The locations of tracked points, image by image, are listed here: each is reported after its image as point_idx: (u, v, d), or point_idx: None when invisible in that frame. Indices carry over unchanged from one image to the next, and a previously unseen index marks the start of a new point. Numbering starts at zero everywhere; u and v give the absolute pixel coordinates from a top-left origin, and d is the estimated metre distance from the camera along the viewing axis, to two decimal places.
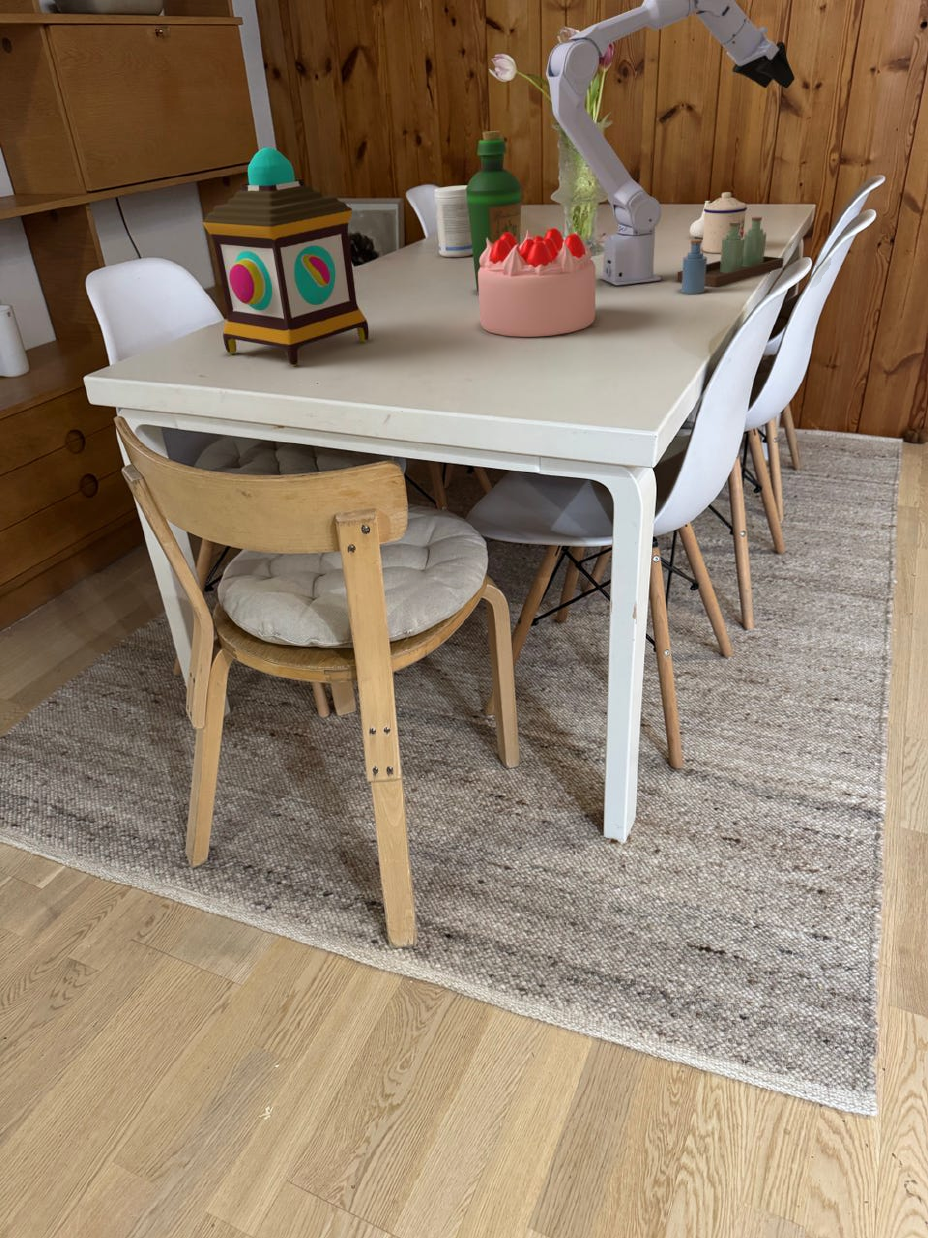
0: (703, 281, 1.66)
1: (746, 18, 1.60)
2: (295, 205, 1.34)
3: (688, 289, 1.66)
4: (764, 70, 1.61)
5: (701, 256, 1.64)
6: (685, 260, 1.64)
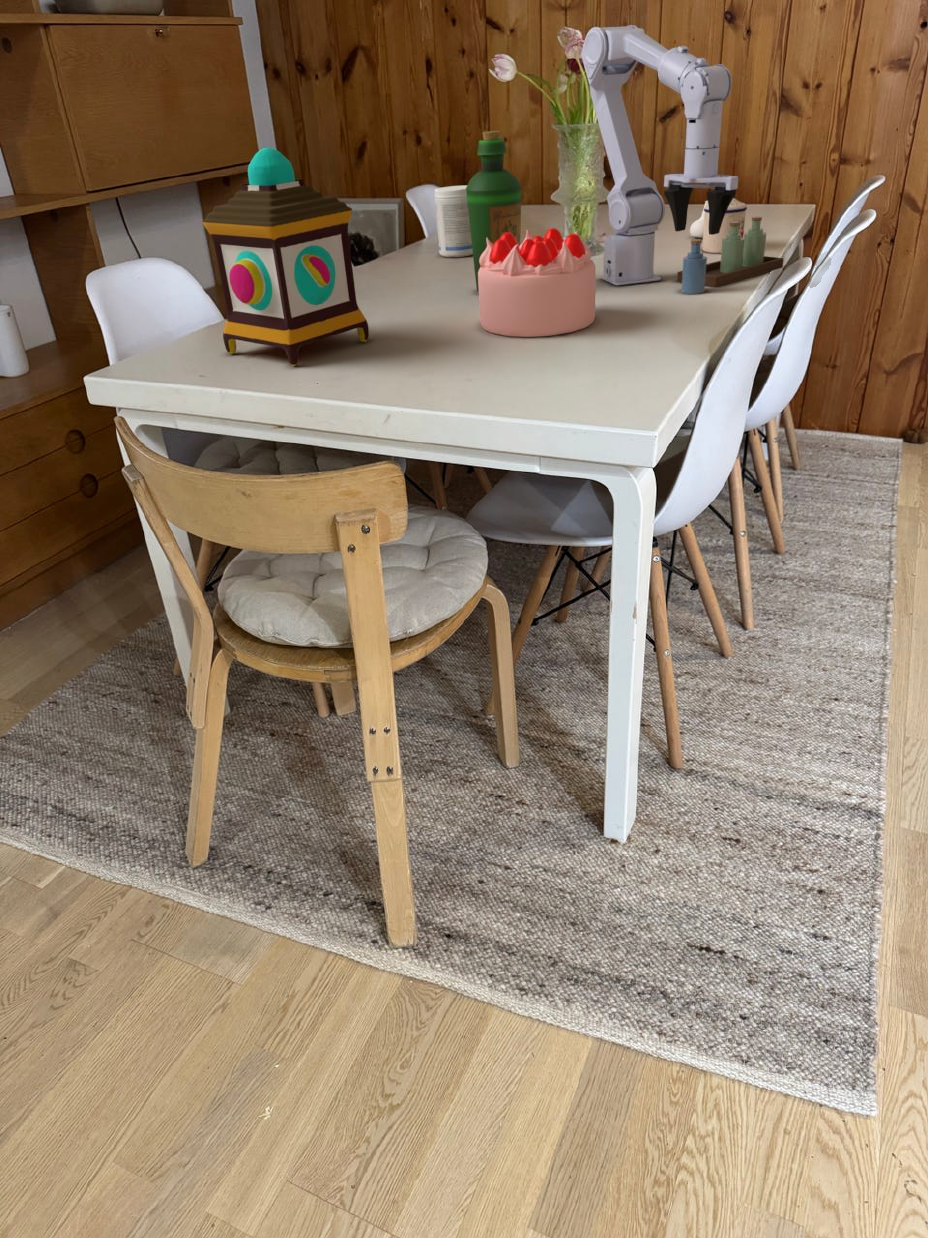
0: (703, 281, 1.66)
1: (685, 148, 1.56)
2: (295, 205, 1.34)
3: (688, 289, 1.66)
4: None
5: (701, 256, 1.64)
6: (685, 260, 1.64)
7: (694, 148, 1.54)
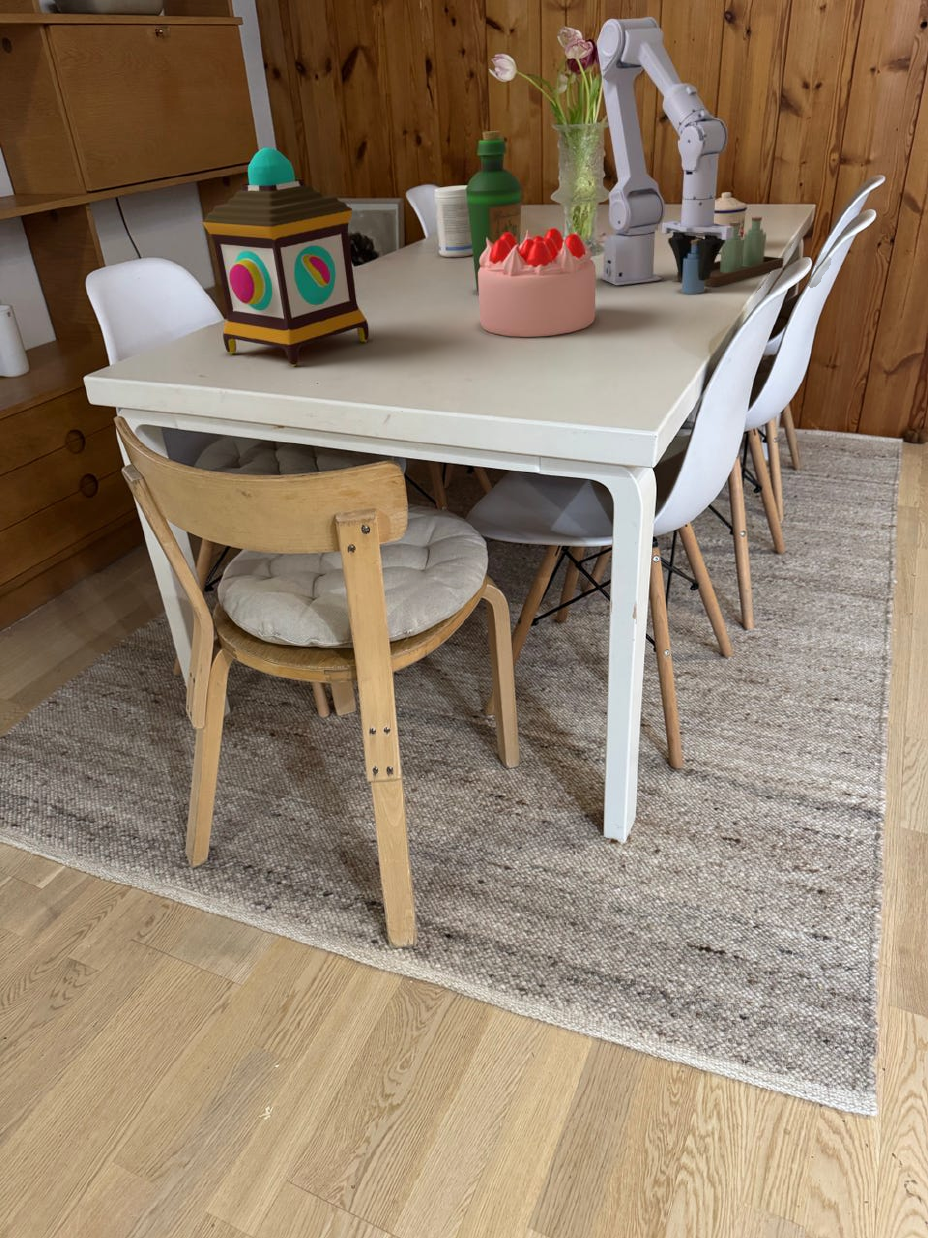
0: (703, 281, 1.66)
1: (682, 198, 1.60)
2: (295, 205, 1.34)
3: (688, 289, 1.66)
4: None
5: None
6: (685, 260, 1.64)
7: (691, 199, 1.58)
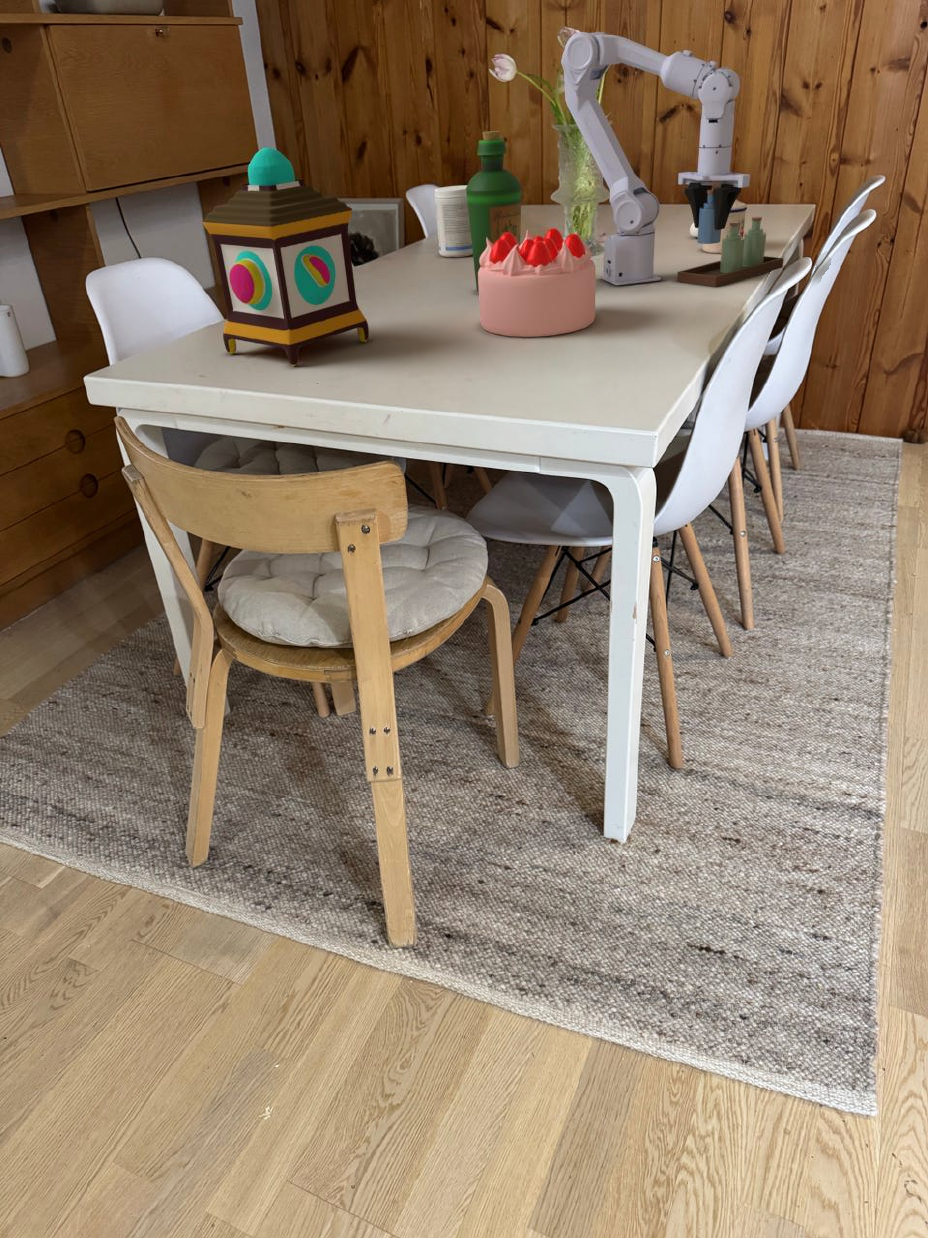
0: (719, 231, 1.68)
1: (699, 147, 1.62)
2: (295, 205, 1.34)
3: (704, 239, 1.68)
4: None
5: None
6: (701, 210, 1.67)
7: (708, 147, 1.60)
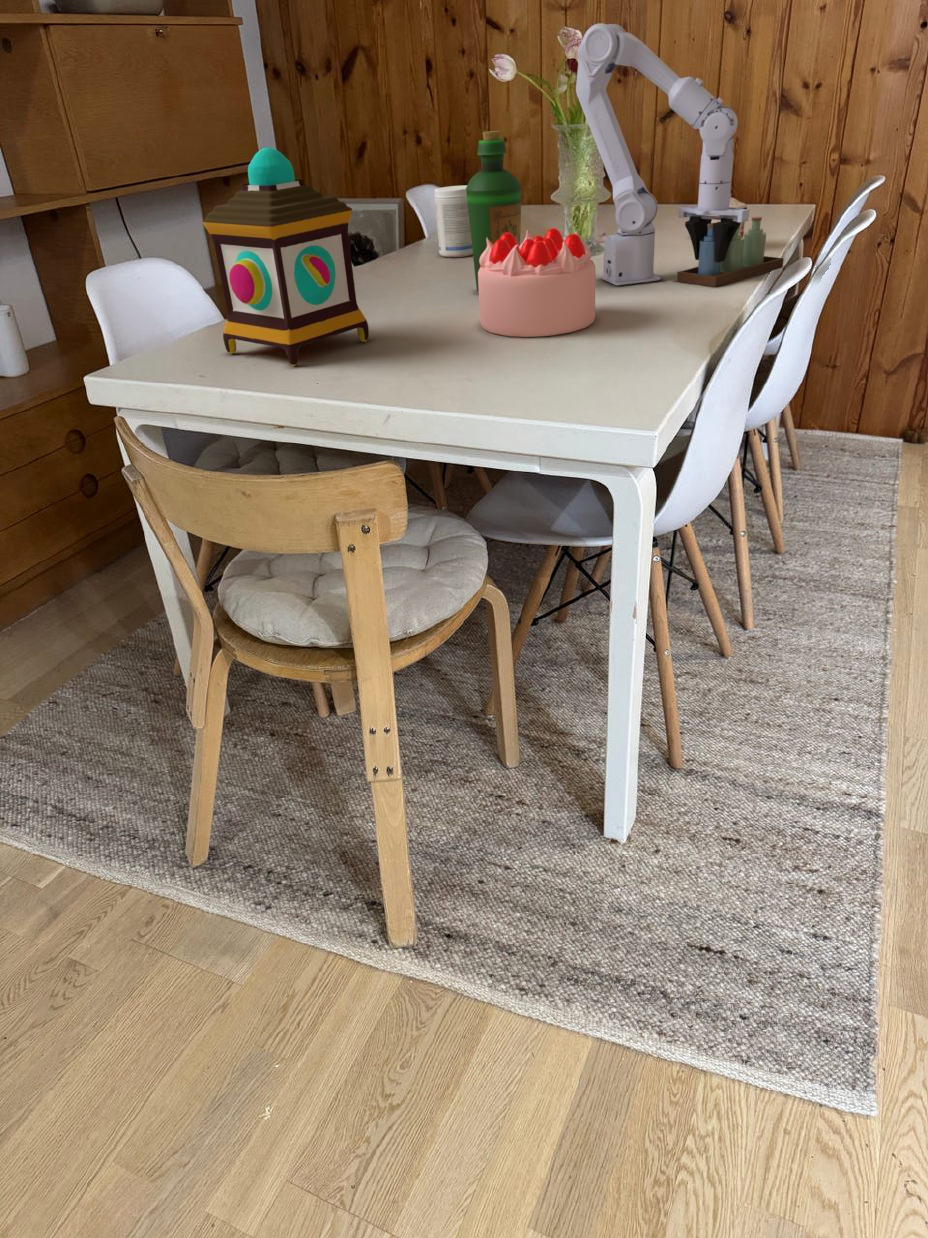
0: (719, 263, 1.72)
1: (699, 183, 1.66)
2: (295, 205, 1.34)
3: (704, 271, 1.73)
4: None
5: None
6: (702, 243, 1.71)
7: (708, 183, 1.64)
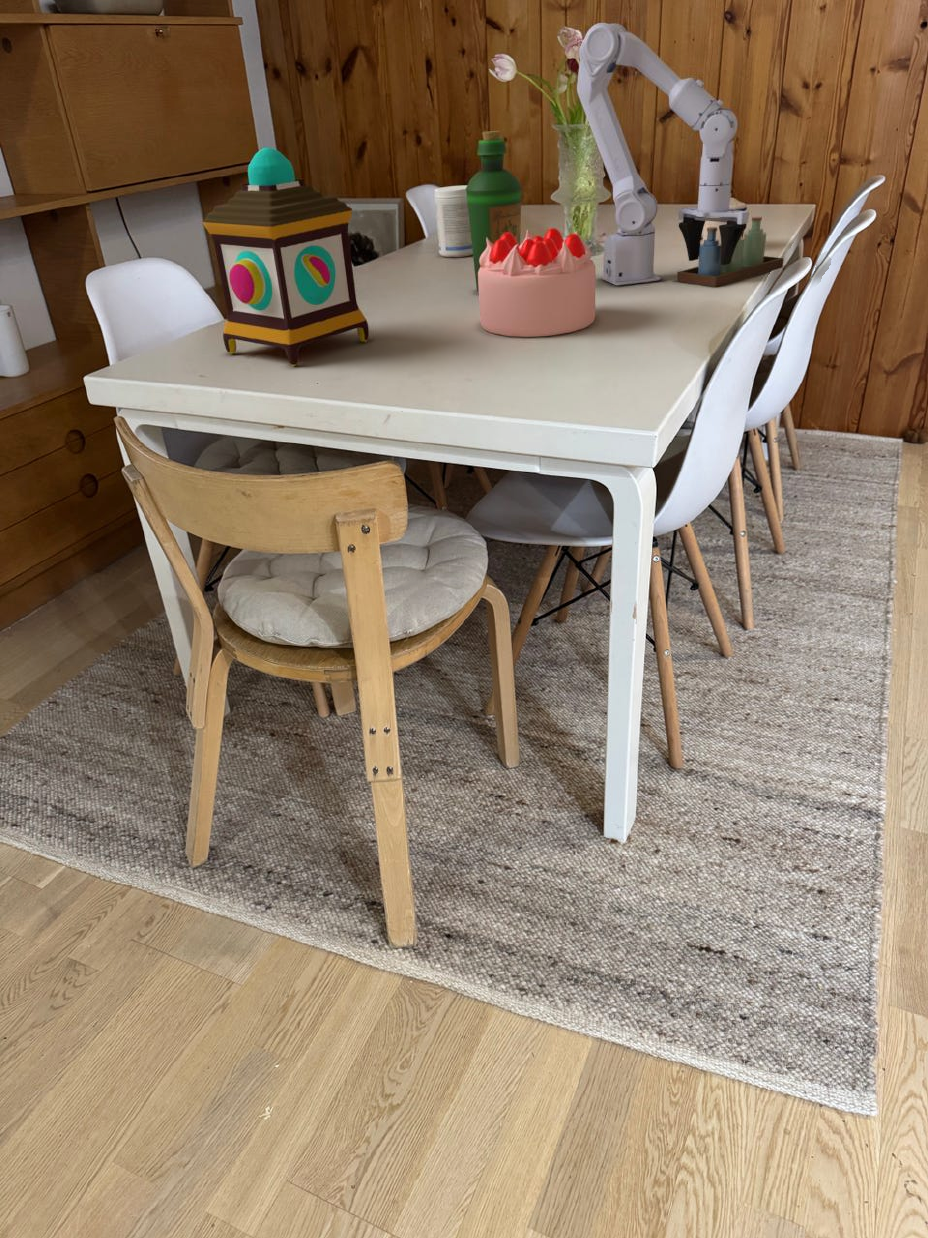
0: (718, 267, 1.72)
1: (699, 184, 1.67)
2: (295, 205, 1.34)
3: None
4: None
5: (717, 243, 1.71)
6: (701, 247, 1.71)
7: (707, 185, 1.64)
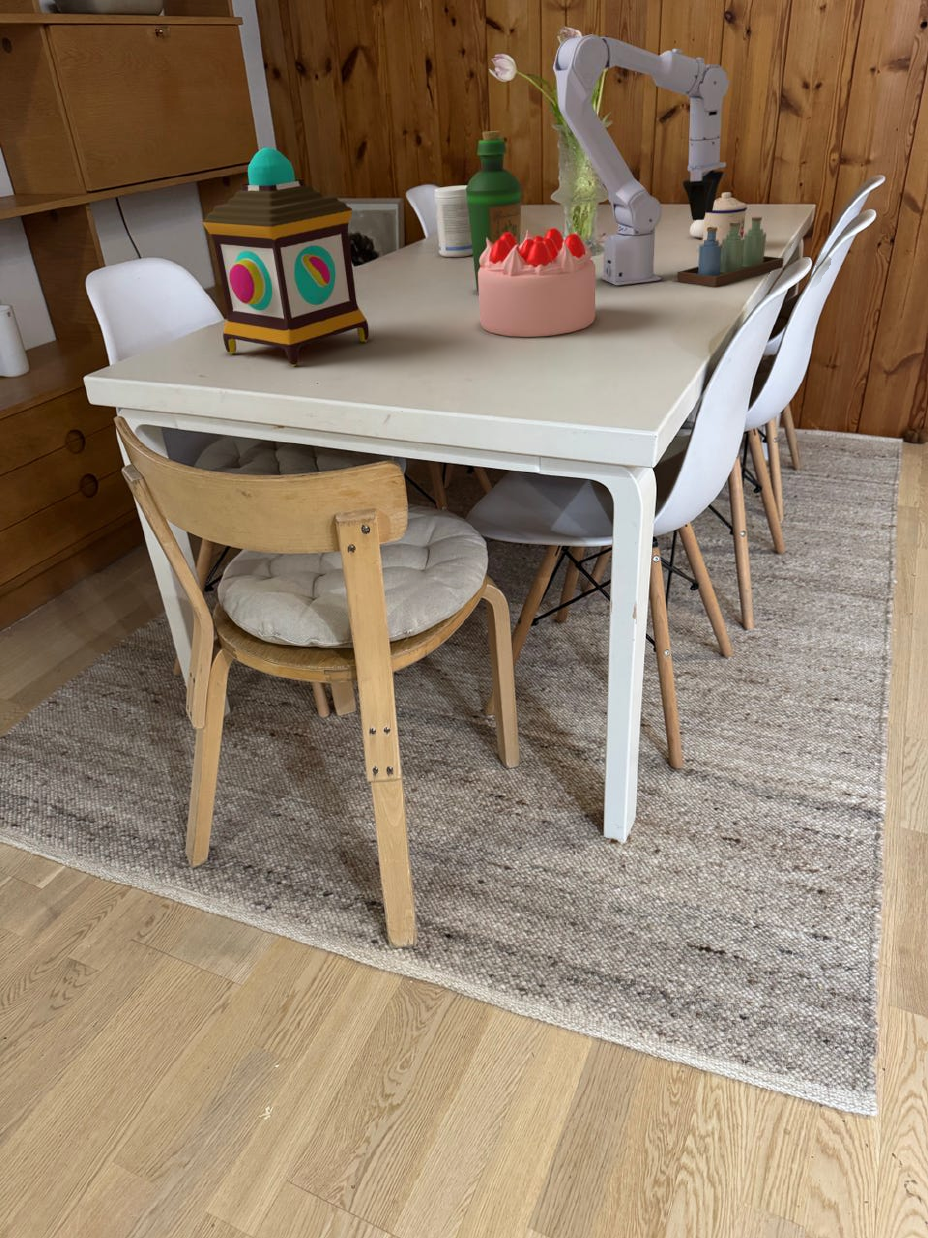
0: (718, 267, 1.72)
1: (713, 138, 1.68)
2: (295, 205, 1.34)
3: None
4: (683, 185, 1.71)
5: (717, 243, 1.71)
6: (701, 247, 1.71)
7: (720, 136, 1.70)
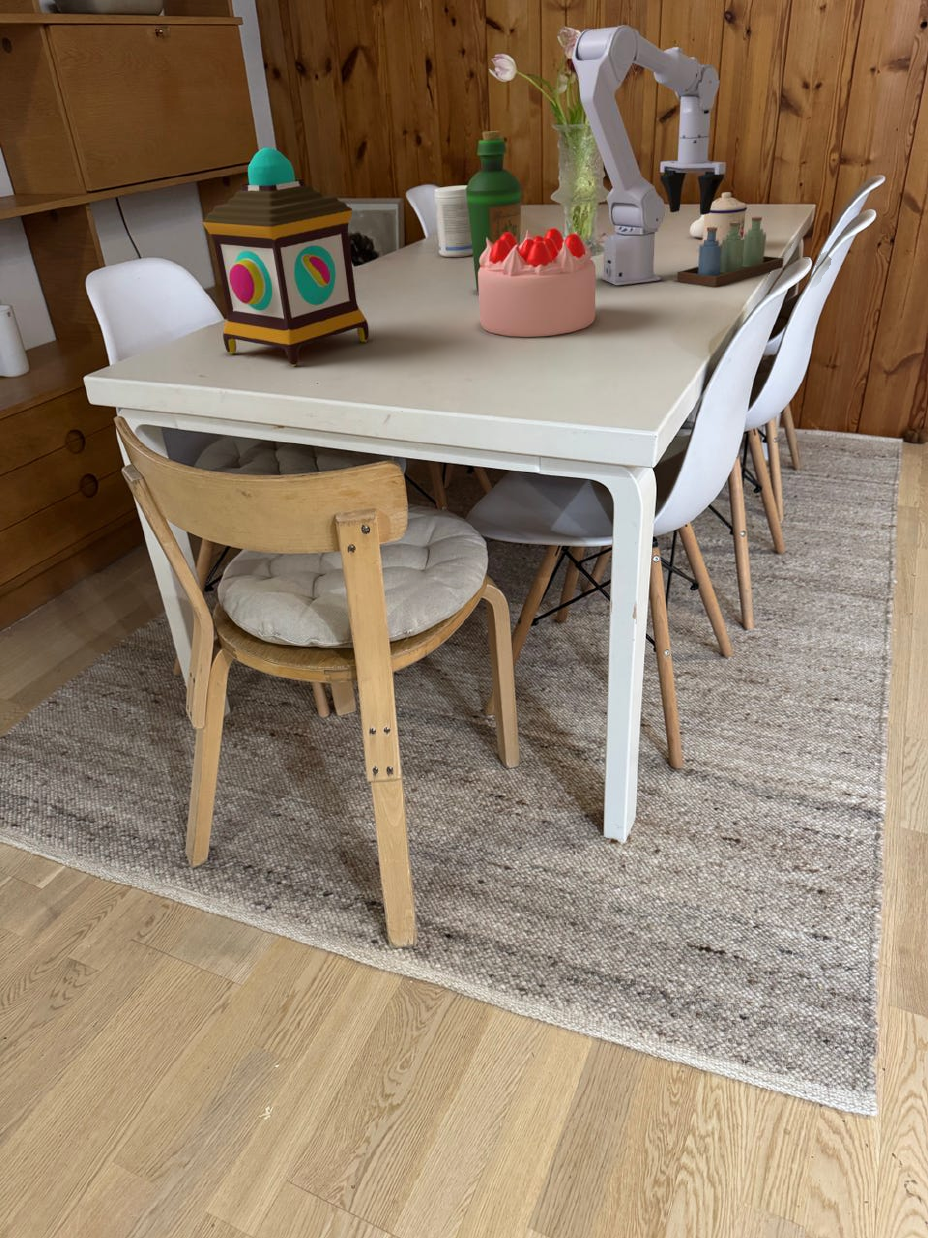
0: (718, 267, 1.72)
1: (708, 135, 1.75)
2: (295, 205, 1.34)
3: None
4: (707, 179, 1.74)
5: (717, 243, 1.71)
6: (701, 247, 1.71)
7: None
